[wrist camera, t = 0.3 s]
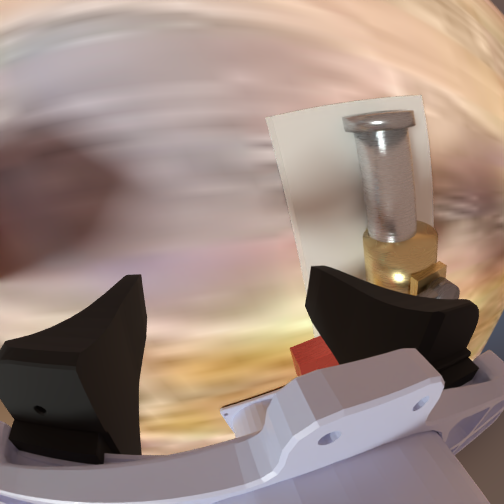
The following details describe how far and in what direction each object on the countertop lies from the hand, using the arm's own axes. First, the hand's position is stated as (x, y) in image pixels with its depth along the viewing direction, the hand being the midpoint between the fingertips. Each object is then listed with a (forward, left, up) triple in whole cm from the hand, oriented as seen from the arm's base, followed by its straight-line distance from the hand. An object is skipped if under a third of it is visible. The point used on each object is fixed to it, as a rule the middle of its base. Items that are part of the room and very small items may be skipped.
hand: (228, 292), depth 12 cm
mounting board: (-7, -13, -10) cm, 18 cm away
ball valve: (-7, -13, -10) cm, 18 cm away
